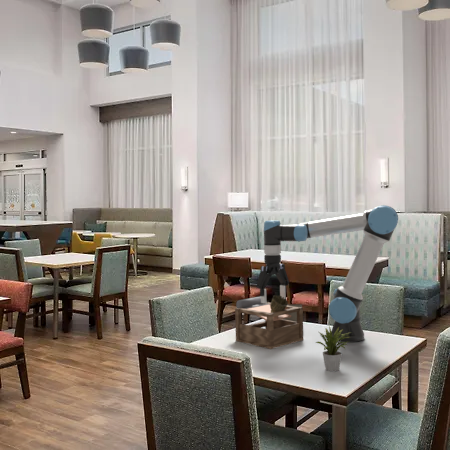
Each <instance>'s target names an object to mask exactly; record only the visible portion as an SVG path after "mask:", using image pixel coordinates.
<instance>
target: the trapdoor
mask: <svg viewBox="0 0 450 450" xmlns="http://www.w3.org/2000/svg"><path fill="white" fill-rule="evenodd" d="M235 304H236V306H235V307H236V308H244V309H250V310H256V311H262V312H268V313H271V308H270V305H269V304H264V303H261V296H260V295H259V296H256V297H250V298H244V299H239V300H238V299H237V301H236V303H235ZM255 316H257V317H258V318H260V319H262V320H264V321H265V320H266V321H267V317H264V316H258V315H255ZM289 317H291V315H289V314H284V315H280V316H275V317H273V321H276V320H280V319H285V318H289Z"/></svg>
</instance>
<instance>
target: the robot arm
mask: <svg viewBox="0 0 450 450" xmlns="http://www.w3.org/2000/svg"><path fill="white" fill-rule="evenodd" d="M398 223H399V215H398V212H397V210H395V209H394V208H393V206H389V205H385V204H383V205H378V206H376V207H373V208H372V209H366V210H364V211H363V213H357V214H351V215H350V214H349V215H345V216H337V217H332V218H330V217H329V218H325V219H319V220H313V221H311V220H310V221H307V222H298V223H294V224H282V223H281V221H280V220H279V219H277V220H275V219H274V220H273V219H272V220H265V221H264V223H263V246H264V248H263V251H264V261H263V262H264V264H265V266H264V265H262V266H260V272H259V276H258V279H257V283H256V289H259V297H260V296H261V303H264V304H267V302H268V301H267V288H266V287H267V284H268V283H269V280H270V278H271V277H272V276H276V278H277V280H278V282H279V283H280V285H279V296H282V298H283V297H284V299H287V297H286V293H287V286H289V284H290V280H289V277H288V273H287V271H286V266H285V264H284V263H281V262H282V255H281V254H282V247H281V244H282V243H281V242H298V243H299V242H305V241H307V239H311V238H319V237H325V236H330V235H332V236H333V235H339V234H345V233H351V232H352V233H353V232H354V233H355V232H359V231H363V233H364V237H363V239H362V241H361V244H360V247H359V248H358V250H357V252H356V255H355V257H354V259H353V262H352V264H351V266H350V269H349V270H348V273H347V275H346V276H345V280H344V282H343V284H342V285H340V286H338V287H337V288H334V290H333V297H332V300H331V301H330V303H329V305H328V313H329V316H330V318H332V320H334V321H333V325H332V328H331V332H332V338H333V336H334V333H335V332H336V330H337V329H338V327H339V330H338V332H339V331H340V330H342V329H343V330H342V331H341V334H345V335H346V336H344V337H349V338H344V339H342V340H340V342H344V343H345V342H346V343H351V342H352V343H357V342H361V341H364V340H365V332H364V330H363V327H362V323H361V304H362V302H363V300H364V296H363V295H362V293H363V291H364V289H365V287H366V284H367V282H368V280H369V277H370V275H371V273H372V271H373V269H374V267H375V265H376V263H377V259H378V257H379V255H380V254H381V251H382V249H383V247H384V244H385V243H388V242H390V240H391V237H392V236H393V233H394V231H395V229H396V227H397V226H398ZM350 332H352V333H350ZM346 333H348V334H346ZM341 334H340V336H339V338H340V337H341V336H342V335H341ZM342 337H343V336H342ZM342 337H341V338H342ZM339 338H338V339H339Z"/></svg>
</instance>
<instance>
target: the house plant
mask: <svg viewBox="0 0 450 450" xmlns="http://www.w3.org/2000/svg"><path fill="white" fill-rule="evenodd" d="M338 330H339V327H338V329H337V330H336V332H335V333H334V336H333V338H332V332H331V331H332V328H331V327H330V325H329V327H328V328H327V327H325V334H324V333H321V332H320V331H318V333H319V336H320V337H321V338H322V339H323V341H324V343H325V344H324V343H323V342H321V341H316V342H315V344H316V343H317V344H318V345H319V344H320V345H321V346H323V347H324V348H323V351H322V357H323V363H324V368H325V370H326V371H328V372H338V371H340V368H341V361H342V360H341V359H342V355H343V354H342V352H341V351H340V348H344V349H346V347H345V346H348V344H347V342H342V341H340V340H342V339H344V338H349V337H344V336H346V335H345V334H341V331H342V330H343V329H342V330H340V331H339V332H338ZM350 333H352V332H350ZM340 334H341V335H342V336H343V337H342V336H341V337H342V338H341V337H340V338H339V336H340ZM346 334H348V333H346ZM338 338H339V339H338ZM338 350H339V351H338Z"/></svg>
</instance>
